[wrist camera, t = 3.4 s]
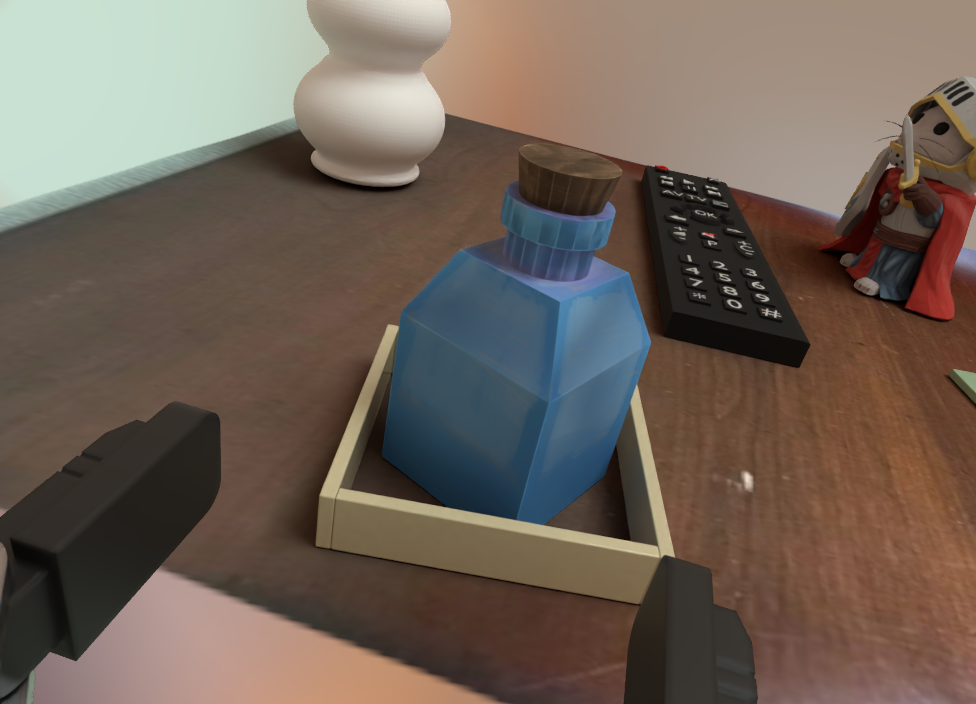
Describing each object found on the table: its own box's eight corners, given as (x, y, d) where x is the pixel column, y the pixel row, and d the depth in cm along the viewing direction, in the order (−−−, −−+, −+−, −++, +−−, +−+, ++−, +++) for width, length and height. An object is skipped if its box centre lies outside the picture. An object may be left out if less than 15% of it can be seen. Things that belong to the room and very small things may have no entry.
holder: (654, 608, 22) (676, 560, 21) (314, 547, 22) (318, 495, 21) (621, 411, 32) (634, 370, 31) (382, 366, 32) (388, 323, 30)
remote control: (720, 198, 67) (727, 178, 66) (799, 367, 39) (814, 336, 38) (641, 180, 67) (647, 160, 66) (664, 336, 39) (675, 304, 38)
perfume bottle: (507, 553, 23) (601, 212, 17) (381, 455, 26) (424, 136, 20) (604, 476, 28) (707, 182, 22) (487, 400, 31) (548, 124, 25)
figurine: (782, 234, 60) (860, 48, 53) (915, 264, 60) (1013, 81, 52) (820, 297, 49) (926, 72, 41) (985, 336, 48) (1123, 115, 41)
